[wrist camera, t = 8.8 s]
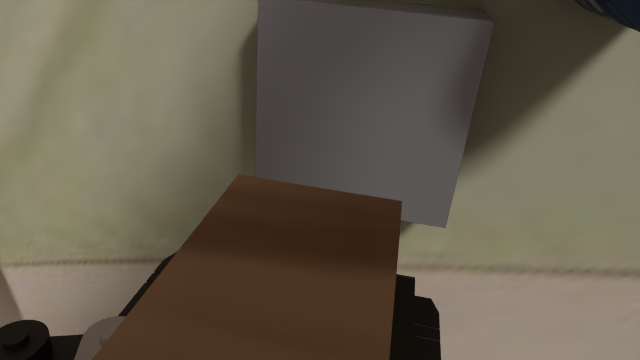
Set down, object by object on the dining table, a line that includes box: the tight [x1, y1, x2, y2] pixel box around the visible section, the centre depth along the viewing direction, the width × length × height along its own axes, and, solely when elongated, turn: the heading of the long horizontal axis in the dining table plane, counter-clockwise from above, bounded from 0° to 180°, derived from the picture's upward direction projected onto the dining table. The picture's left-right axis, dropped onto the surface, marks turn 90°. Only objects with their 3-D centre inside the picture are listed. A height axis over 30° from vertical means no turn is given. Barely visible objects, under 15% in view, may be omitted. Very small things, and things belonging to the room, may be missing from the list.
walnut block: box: [92, 175, 402, 360], centre depth 12 cm, size 5×5×8 cm
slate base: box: [255, 0, 495, 228], centre depth 29 cm, size 12×12×4 cm
